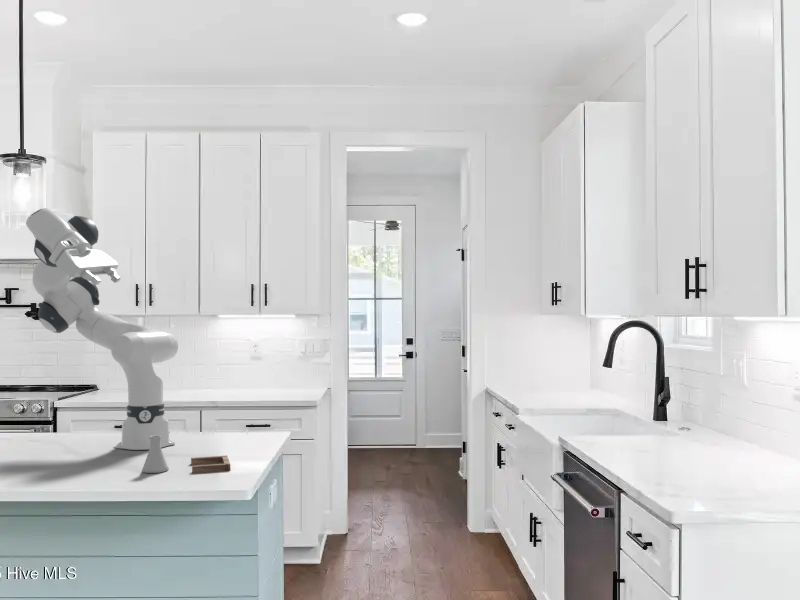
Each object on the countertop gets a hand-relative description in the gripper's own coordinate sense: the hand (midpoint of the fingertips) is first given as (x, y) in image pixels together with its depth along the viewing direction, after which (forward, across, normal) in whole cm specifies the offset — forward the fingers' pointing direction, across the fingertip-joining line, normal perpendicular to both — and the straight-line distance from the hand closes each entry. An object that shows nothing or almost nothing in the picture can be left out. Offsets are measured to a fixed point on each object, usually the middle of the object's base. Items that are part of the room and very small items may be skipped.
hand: (108, 281), depth 203 cm
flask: (+46, +3, -32) cm, 56 cm away
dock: (+56, -4, -24) cm, 61 cm away
